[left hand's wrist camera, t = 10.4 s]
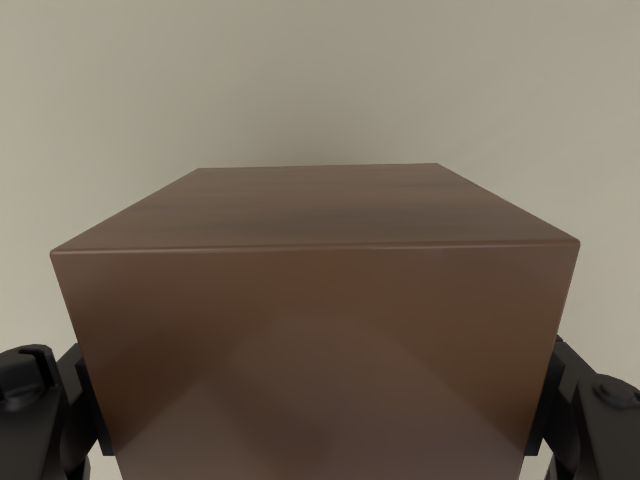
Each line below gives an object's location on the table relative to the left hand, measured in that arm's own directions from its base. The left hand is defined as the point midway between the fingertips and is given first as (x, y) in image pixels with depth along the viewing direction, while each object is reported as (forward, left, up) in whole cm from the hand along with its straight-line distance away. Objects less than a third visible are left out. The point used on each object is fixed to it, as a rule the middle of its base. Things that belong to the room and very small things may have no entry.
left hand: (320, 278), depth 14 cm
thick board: (+23, -5, -1) cm, 23 cm away
